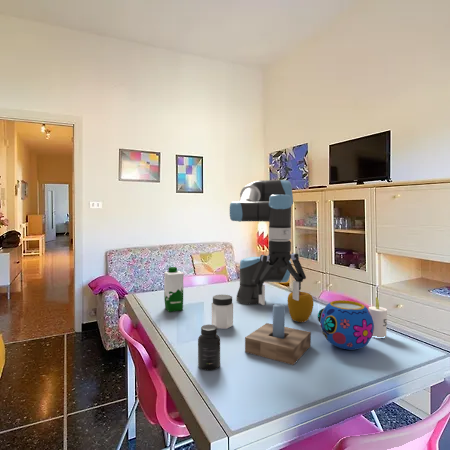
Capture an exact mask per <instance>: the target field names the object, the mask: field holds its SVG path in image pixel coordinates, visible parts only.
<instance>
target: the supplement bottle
mask: <svg viewBox="0 0 450 450" xmlns="http://www.w3.org/2000/svg"><path fill="white" fill-rule="evenodd" d="M200 329H201V330H200V335H199V337H198V338H197V364H198V365H197V366H198V367H199V369H201V370H204V371H214V370H217V369H218V368H219V367H220V365H221V338H220V336H219V335H218V328H217V327H216V326H215V325H212V324H204V325H202V326H201V328H200Z"/></svg>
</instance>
